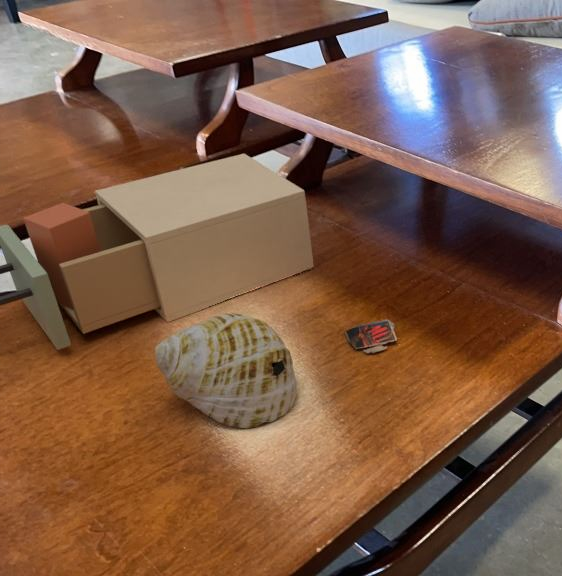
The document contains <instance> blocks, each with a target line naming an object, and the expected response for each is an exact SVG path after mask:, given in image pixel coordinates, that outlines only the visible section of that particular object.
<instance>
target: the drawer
mask: <svg viewBox="0 0 562 576" xmlns="http://www.w3.org/2000/svg"><path fill="white" fill-rule="evenodd" d="M82 210H84V211H87V212H89V213H90V216H91V220H92V223H93V227H94V230H95V233H96V237H97V240H98V244H99V247H100V251H101V252H98V253H95V254H91V255H88V256H84V257H81V258H78V259H74V260H71V261H68V262H64V263H61V264H59V266H60V269H61V272H62V275H63V278H64V281H65V284H66V287H67V290H68V294H69V297H70V300H71V303H72V306H73V309H74V310H72V309H70V308H68V307H66V306H64V305H62V304H60V303H58V302H57V301H56V298H55V295H54V292H53V289H52V286H51V283H50V280H49V277H48V274H47V272H46V271H45V270H44V269H43V268H42V266H41V265H40V264H39V263H38V260H37V257H36V254H35V251H34V248H33V245H32V242H31V239H30V236H29V233H28V230H27V229H26V231H27V234H28V237H29V240H30V243H31V246H32V249H33V251H34V254H35V256H34V255H33V254H32V253H31V251H30V250H29V249H28V248H27V247H26V245H25V244H24V242H22V240H21V239H20V237H18V236H17V234H16V232H14V230H13V229H12V228H11V227H10V225H9V224H7V223H6V224H3V225H0V249H1V252H2V255H3V257H4V261H5V263H6V264H2V265H0V275H3V274H7V273H10V276H11V280H12V281H13V284H14V287H15V290H16V291H15V292H11V293H7V294H4V295H1V296H0V307H1V306H4V305H7V304H10V303H14V302H17V301H22V303H23V305H24V306H25V307H26V308H27V309H28V311H29V312H30V313H31V315H32V316H33V318H34V320H35V321H36V322H37V323H38V325H39V326H40V328H41V329H42V331H43V332H44V333H45V335H46V336H47V337H48V339H49V340H50V342H51V343H52V344H53V346H54V347H55V349H56V350H57V351H59V350H62V349H65V348H68V347H70V346H72V343H71V340H70V337H69V334H68V331H67V328H66V325H65V321H64V319H63V316H62V313H61V310H60V307H59V305H60V306H61V308H62V309H63V310H64V312H65V313H66V314H67V316H68V317H69V319H71V320H72V321H73V323H74V324H75V326H76V327H77V328H78V330H79V331H80V332H81V333H82V334H84V335H85V334H86V333H87V334H88V333H90V332H92V331H95V330H98V329H101V328H104V327H107V326H110V325H113V324H115V323H118V322H121V321H125V320H127V319H129V318H132V317H136V316H138V315H141V314H144V313H146V312H150V311H153V310H155V308H158V307H161V305H160V301H159V297H158V293H157V289H156V285H155V282H154V278H153V274H152V270H151V266H150V262H149V258H148V254H147V250H146V246H145V241H143V240H142V239H141V238H140V237H139V236H138V235H137V234H136V233H135V232H134V231H133V230H131V229H130V228H129V227H128V226H127V225H126V224H125V223H124V222H123V221H122V220H121V219H120V218H118V217H117V216H116V215H115V214H114V213H113V212H112V211H111V210H110V209H109V208H108V207H107V206H105V205H104V204H102V205H98V204H97V205H93V206H91V207H87V208H82Z"/></svg>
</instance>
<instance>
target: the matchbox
mask: <svg viewBox="0 0 562 576" xmlns="http://www.w3.org/2000/svg"><path fill="white" fill-rule="evenodd" d="M394 329H395V323H394V322H393V321H392V320H389V319H387V318H385V319H382V320H378V321H377V320H375V321H373V322H369V323H365V324H357V325H355V326H354V327H352V328H349V329H347V330H344V331H345V335H346V338H347V341H348V342H349V344H350V345H351V346H352V347H353V348H354V349H355V350H357V349H358V350H359V349H362V351H363V353H366V354H367V355H369V354H376V353H377V352H381V351H383V350H387V349H388V345H386V344H388V343H393V342H394V341H397V340H398V337H397V336H396V332H395V330H394ZM384 345H385V346H384ZM368 347H369V348H368ZM366 348H367V349H366Z"/></svg>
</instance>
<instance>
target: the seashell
mask: <svg viewBox="0 0 562 576" xmlns="http://www.w3.org/2000/svg"><path fill="white" fill-rule="evenodd" d="M154 359H155V361H156V362H155V363H156V366H157V368H158V369H159V371H160V372H161V373H162V374H163V375H164V377H165V380H166V382H167V384H168V386H169V388H170V389H171V391H172V392H173V393H174V394H175V395H176V397H178V398H180V399H181V400H184V401H186V402H188V404H189V405H191V406H193V407H194V408H196V409H198V410H199V411H200V412H201V413H203V414H205V415H206V416H208V417H210V418H212V419H213V420H215V421H217V422H219V423H221V424H223V425H225V426H228V427H229V426H230V427H233V428H241V429H243V428H244V429H250V428H251V429H252V428H256V427H259V426H260V425H262V424H263V423H272V422H274V421H276V420H279V419H281V418H282V417H283V416H284V415H286V414H287V413H288V412H289V411H290V410H291V408H292V407H293V406H294V404H295V401H296V398H297V394H298V384H297V383H298V381H297V377H296V375H295V374H296V373H295V369H294V363H293V357H292V354H291V352H290V350H289V349H288V348H287V347H286V345H285V342H284V339H282V338H281V337H280V335H279V333H278V332H276V330H274V328H272V326H270V325H269V324H268V323H267V322H265V321H263V320H261V319H259V318H255V317H252V316H250V315H249V316H248V315H244V314H239V313H231V312H230V313H222V314H219V315H215V316H212V317H209V318H207V319H205V320H204V321H201V322H198V323H196V324H194V325H192V326H189V327H186V328H183V329H181V330H178V331H177V332H176V333H174V334H172V335H171V336H169V337H166V338H164V339H163V340H162V341H161V342H160V343H158V344H157V345H155V348H154Z"/></svg>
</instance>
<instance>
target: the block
mask: <svg viewBox="0 0 562 576" xmlns="http://www.w3.org/2000/svg"><path fill="white" fill-rule="evenodd" d="M23 222H24V225H25V228H26V231H27V230H28V231H27V234H28V233H29V234H28V237H29V236H30V237H29V240H30V239H31V240H30V243H31V242H32V243H31V246H32V245H33V246H32V249H33V248H34V249H33V251H35V252H34V254H36V255H35V258H36V257H37V258H36V260H37V261H38V263H39V264H40V265H41V266H42V268H43V269H44V270H45V271H46V272H47V274H48V277H49V280H50V283H51V286H52V289H53V292H54V295H55V298H56V301H57V304H59V303H60V304H62V305H64V306H66V307H68V308H70V309H72V310H74V309H73V306H72V303H71V300H70V297H69V294H68V290H67V287H66V284H65V281H64V278H63V275H62V272H61V269H60V266H59V264H61V263H64V262H68V261H71V260H74V259H78V258H81V257H84V256H88V255H91V254H95V253H98V252H101V251H100V247H99V244H98V240H97V237H96V233H95V230H94V227H93V223H92V220H91V216H90V213H89V212H87V211H84V210H83V208H79V207H76V206H73V205H72V204H68V203H66V202H61V203H57V204H56V205H53V206H50V207H48V208H45V209H43V210H40V211H37V212H34V213H32V214H29V215H27V216H24V217H23ZM60 304H59V305H60Z"/></svg>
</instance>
